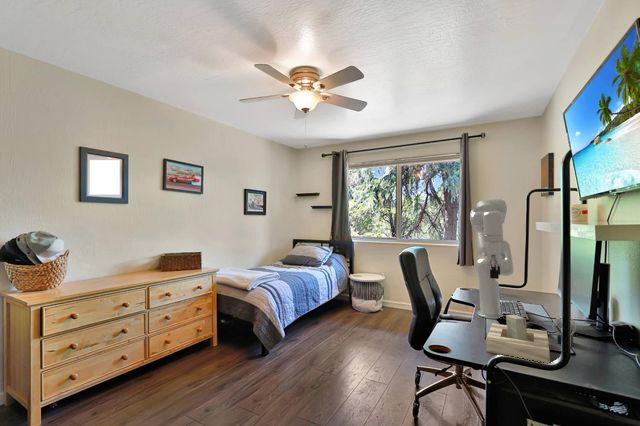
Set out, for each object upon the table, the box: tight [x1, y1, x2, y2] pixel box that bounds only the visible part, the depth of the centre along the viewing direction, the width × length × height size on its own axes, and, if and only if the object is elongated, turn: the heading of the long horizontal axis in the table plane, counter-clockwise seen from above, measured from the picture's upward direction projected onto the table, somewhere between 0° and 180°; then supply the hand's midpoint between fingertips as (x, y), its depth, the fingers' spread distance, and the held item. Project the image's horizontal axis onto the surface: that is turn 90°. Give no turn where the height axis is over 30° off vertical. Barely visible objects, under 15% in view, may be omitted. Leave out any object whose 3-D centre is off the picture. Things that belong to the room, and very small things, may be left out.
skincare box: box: [505, 314, 528, 341], centre depth 122 cm, size 6×4×12 cm
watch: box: [551, 315, 578, 347], centre depth 125 cm, size 6×8×11 cm
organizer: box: [485, 323, 551, 364], centre depth 122 cm, size 22×20×5 cm
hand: (495, 276), depth 136 cm, fingers open, 9 cm apart
